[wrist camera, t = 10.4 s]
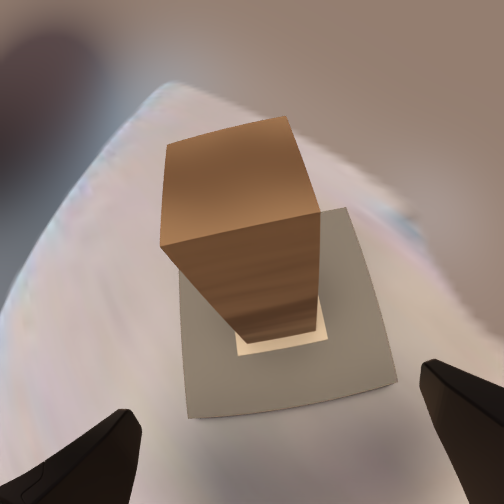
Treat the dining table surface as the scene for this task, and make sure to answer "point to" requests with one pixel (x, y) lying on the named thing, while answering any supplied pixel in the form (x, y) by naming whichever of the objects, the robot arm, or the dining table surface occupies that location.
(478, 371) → the dining table surface
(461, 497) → the dining table surface
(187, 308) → the foundation slab
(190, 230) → the walnut pillar
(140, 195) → the dining table surface
